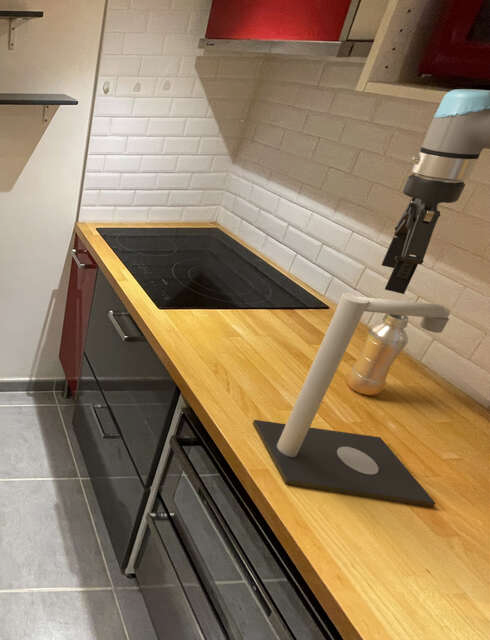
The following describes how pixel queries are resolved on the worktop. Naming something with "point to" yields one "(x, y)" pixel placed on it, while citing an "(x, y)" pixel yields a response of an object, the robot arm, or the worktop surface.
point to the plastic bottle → (378, 355)
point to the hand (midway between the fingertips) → (391, 278)
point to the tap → (340, 447)
